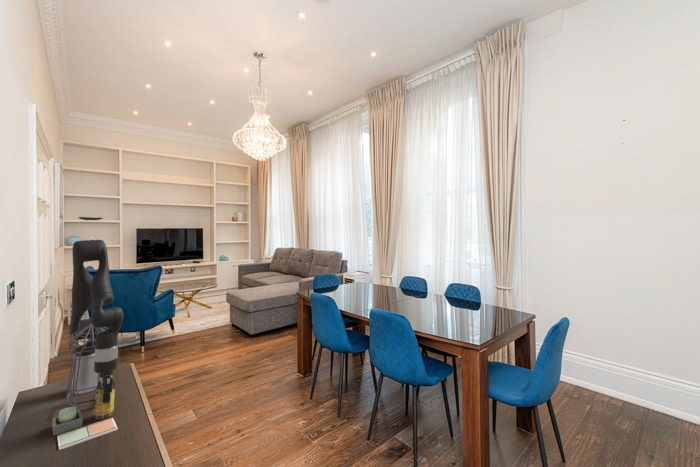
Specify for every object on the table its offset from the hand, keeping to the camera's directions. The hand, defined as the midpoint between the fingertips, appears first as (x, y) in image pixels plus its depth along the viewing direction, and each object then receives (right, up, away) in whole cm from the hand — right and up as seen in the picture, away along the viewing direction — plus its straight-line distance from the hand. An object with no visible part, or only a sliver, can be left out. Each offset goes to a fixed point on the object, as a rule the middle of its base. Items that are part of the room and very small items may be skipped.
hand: (104, 399), depth 124 cm
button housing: (-8, -6, -7) cm, 13 cm away
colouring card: (+3, -6, -11) cm, 13 cm away
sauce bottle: (0, -7, 0) cm, 7 cm away
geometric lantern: (-14, -7, +9) cm, 18 cm away
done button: (-8, -4, -7) cm, 12 cm away
